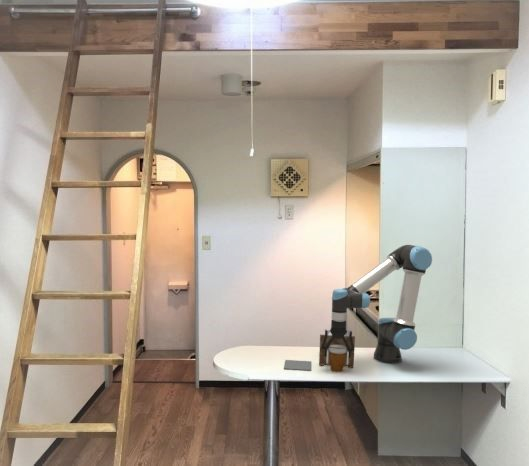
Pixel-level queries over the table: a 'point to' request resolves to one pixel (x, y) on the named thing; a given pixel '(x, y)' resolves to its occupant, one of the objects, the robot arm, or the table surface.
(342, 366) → the disposable coffee cup
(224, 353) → the table surface
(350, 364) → the screen
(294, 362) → the mat
